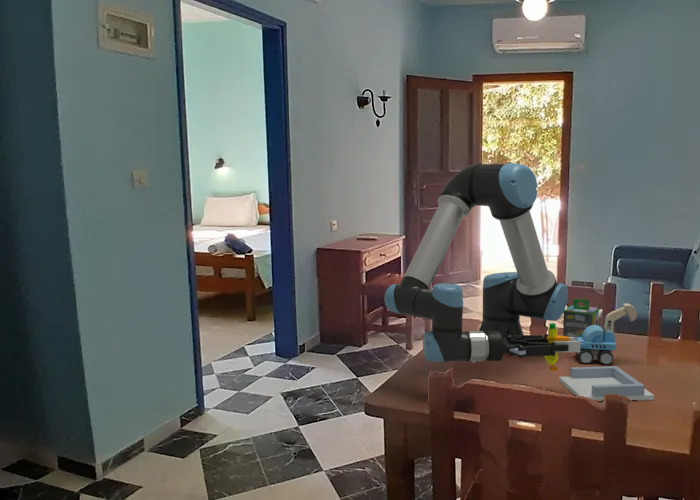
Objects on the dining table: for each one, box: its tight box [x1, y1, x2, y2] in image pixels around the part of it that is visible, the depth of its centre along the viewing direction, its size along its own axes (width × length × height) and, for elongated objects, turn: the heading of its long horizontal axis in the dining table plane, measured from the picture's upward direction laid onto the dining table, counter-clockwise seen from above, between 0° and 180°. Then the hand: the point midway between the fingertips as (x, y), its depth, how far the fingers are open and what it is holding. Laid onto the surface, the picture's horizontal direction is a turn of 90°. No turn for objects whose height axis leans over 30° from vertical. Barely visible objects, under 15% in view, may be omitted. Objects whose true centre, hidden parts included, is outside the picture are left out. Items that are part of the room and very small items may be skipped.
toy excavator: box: [574, 303, 638, 366], centre depth 184 cm, size 9×17×17 cm, turn 78°
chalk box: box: [562, 298, 600, 339], centre depth 202 cm, size 9×9×15 cm
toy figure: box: [543, 322, 570, 372], centre depth 159 cm, size 7×4×12 cm, turn 79°
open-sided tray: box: [558, 365, 655, 402], centre depth 161 cm, size 18×15×4 cm
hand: (576, 344), depth 159 cm, fingers closed on toy figure, 3 cm apart
